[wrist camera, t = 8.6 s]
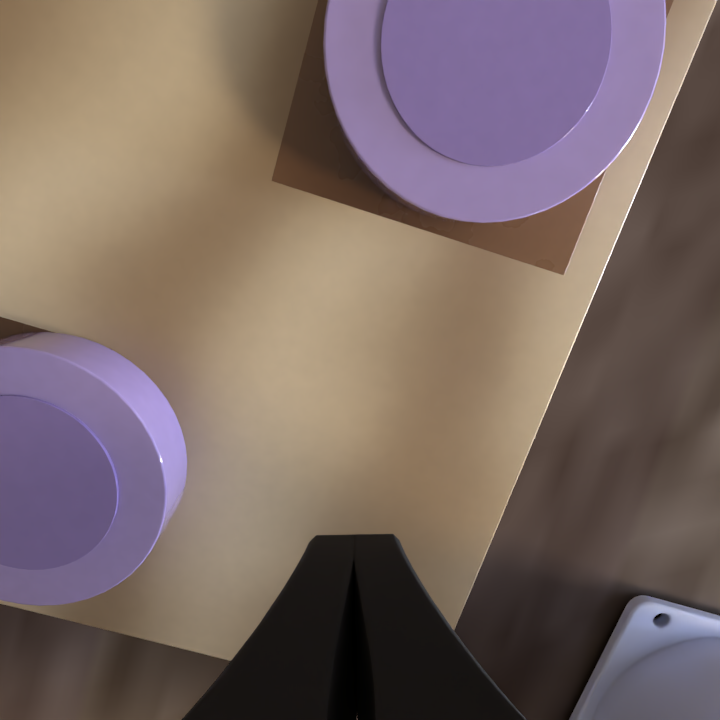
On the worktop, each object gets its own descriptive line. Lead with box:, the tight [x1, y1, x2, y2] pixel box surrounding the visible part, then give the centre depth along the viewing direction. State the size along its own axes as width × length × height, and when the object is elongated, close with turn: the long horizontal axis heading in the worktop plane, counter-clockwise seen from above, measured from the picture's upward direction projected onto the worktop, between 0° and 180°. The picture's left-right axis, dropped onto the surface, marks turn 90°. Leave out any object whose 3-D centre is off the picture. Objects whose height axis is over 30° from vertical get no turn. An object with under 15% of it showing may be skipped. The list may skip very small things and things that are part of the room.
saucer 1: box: [0, 332, 187, 606], centre depth 14 cm, size 7×7×2 cm
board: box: [0, 0, 717, 661], centre depth 14 cm, size 20×24×1 cm
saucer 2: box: [323, 0, 666, 223], centre depth 12 cm, size 7×7×2 cm
